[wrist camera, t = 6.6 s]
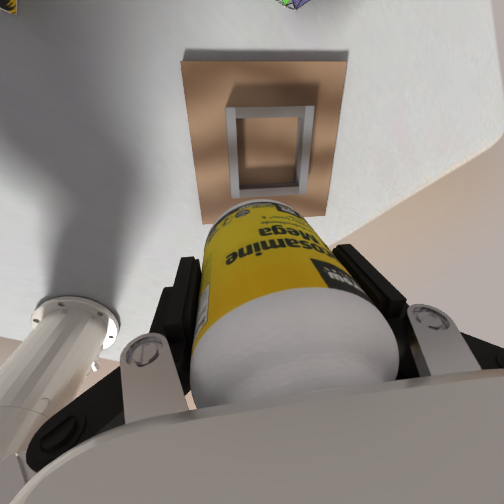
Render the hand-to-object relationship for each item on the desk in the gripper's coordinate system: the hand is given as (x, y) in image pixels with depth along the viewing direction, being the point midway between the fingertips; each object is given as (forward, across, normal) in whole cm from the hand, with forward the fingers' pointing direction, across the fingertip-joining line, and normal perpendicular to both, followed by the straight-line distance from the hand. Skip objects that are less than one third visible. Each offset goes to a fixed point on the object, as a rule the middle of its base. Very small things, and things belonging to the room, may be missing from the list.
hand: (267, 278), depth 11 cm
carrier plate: (+23, -4, -3) cm, 24 cm away
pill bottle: (+3, 0, 0) cm, 3 cm away
